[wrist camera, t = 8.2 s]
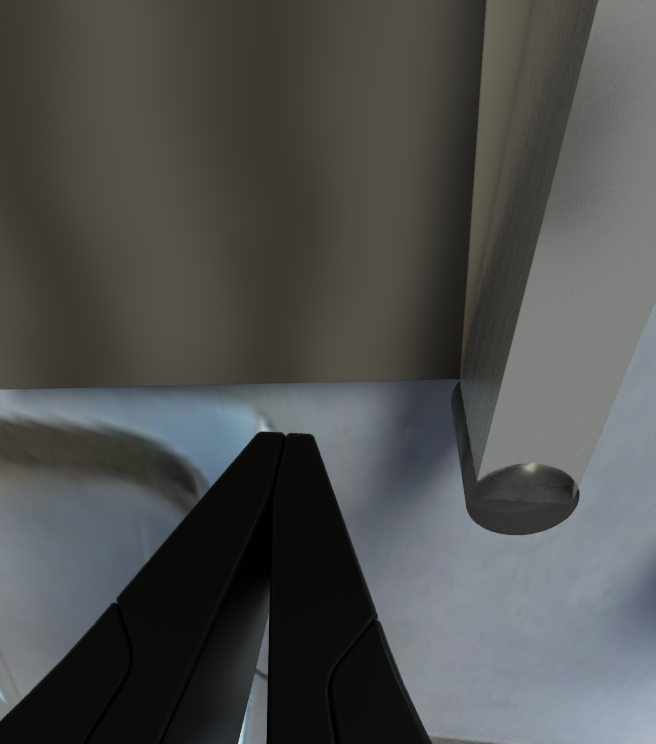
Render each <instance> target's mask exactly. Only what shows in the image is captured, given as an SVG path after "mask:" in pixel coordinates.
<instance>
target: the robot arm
mask: <svg viewBox="0 0 656 744" xmlns="http://www.w3.org/2000/svg"><path fill="white" fill-rule="evenodd" d="M116 601H117V603H112V604H111V605H110V606H109V607H108V608H107V609H106V611H105V612H104V613H103V614H102V615H101V616H100V618H99V619H98V620H97V621H96V622H95V624H94V625H93V626H92V627H91V628H90V629H89V630H88V631H87V633H86V634H85V635H84V636H83V637H82V638H81V639H80V640H79V641H78V643H77V644H76V645H75V646H74V647H73V648H72V649H71V650H70V651H69V653H68V654H67V655H66V656H65V657H64V658H63V659H62V660H61V661H60V662H59V663H58V664H57V665H56V666H55V667H54V668H53V669H52V670H51V671H50V672H49V673H48V674H47V675H46V676H45V677H44V678H43V679H42V680H41V681H40V682H39V683H38V684H37V685H36V686H35V687H34V688H33V689H32V690H31V691H30V692H29V693H28V694H27V695H26V696H25V697H24V698H23V699H22V700H21V701H20V702H19V703H18V704H17V705H16V706H15V707H14V708H13V709H12V710H11V711H10V712H9V713H8V714H7V715H6V716H5V717H4V718H3V719H2V720H1V721H0V744H238V741H239V737H240V733H241V729H242V724H243V720H244V716H245V712H246V707H247V703H248V699H249V695H250V690H251V686H252V682H253V677H254V673H255V669H256V665H257V660H258V656H259V652H260V648H261V643H262V639H263V635H264V630H265V626H266V622H267V618H268V613H269V654H268V699H267V744H432V742H431V740H430V738H429V736H428V734H427V732H426V730H425V728H424V726H423V724H422V722H421V720H420V718H419V715H418V713H417V711H416V709H415V707H414V705H413V703H412V700H411V698H410V696H409V694H408V692H407V690H406V688H405V685H404V683H403V680H402V678H401V675H400V673H399V670H398V668H397V665H396V663H395V660H394V658H393V655H392V653H391V650H390V647H389V645H388V642H387V639H386V636H385V634H384V631H383V628H382V625H381V623H380V621H378V615H377V612H376V609H375V606H374V604H373V601H372V598H371V595H370V592H369V590H368V587H367V584H366V581H365V578H364V576H363V573H362V570H361V567H360V564H359V562H358V559H357V556H356V553H355V550H354V548H353V545H352V542H351V539H350V536H349V533H348V531H347V528H346V525H345V522H344V519H343V517H342V514H341V511H340V508H339V505H338V503H337V500H336V497H335V494H334V491H333V489H332V486H331V483H330V480H329V477H328V475H327V472H326V469H325V466H324V463H323V460H322V458H321V455H320V452H319V449H318V446H317V444H316V441H315V438H314V437H313V435H311V434H301V433H289V434H287V436H285V434H283V433H281V432H259V433H257V434H256V435H255V437H254V438H253V439H252V440H251V441H250V442H249V444H248V445H247V446H246V447H245V448H244V449H243V451H242V452H241V453H240V454H239V455H238V456H237V458H236V459H235V460H234V461H233V462H232V463H231V465H230V466H229V467H228V468H227V469H226V471H225V472H224V473H223V474H222V475H221V476H220V478H219V479H218V480H217V481H216V482H215V483H214V485H213V486H212V487H211V488H210V489H209V490H208V492H207V493H206V494H205V495H204V496H203V497H202V499H201V500H200V501H199V502H198V503H197V504H196V506H195V507H194V508H193V509H192V510H191V511H190V513H189V514H188V515H187V516H186V517H185V518H184V520H183V521H182V522H181V523H180V524H179V526H178V527H177V528H176V529H175V530H174V531H173V533H172V534H171V535H170V536H169V537H168V538H167V540H166V541H165V542H164V543H163V544H162V545H161V547H160V548H159V549H158V550H157V551H156V552H155V554H154V555H153V556H152V557H151V558H150V559H149V561H148V562H147V563H146V564H145V565H144V566H143V568H142V569H141V570H140V571H139V572H138V574H137V575H136V576H135V577H134V578H133V579H132V581H131V582H130V583H129V584H128V585H127V586H126V588H125V589H124V590H123V591H122V592H121V593H120V595H119V596H118V597H117V599H116Z"/></svg>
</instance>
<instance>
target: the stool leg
mask: <svg viewBox="0 0 656 744" xmlns="http://www.w3.org/2000/svg"><path fill="white" fill-rule="evenodd" d="M655 300H656V0H534V3H533V8H532V13H531V18H530V23H529V29H528V34H527V39H526V44H525V49H524V54H523V59H522V64H521V69H520V75H519V80H518V85H517V90H516V95H515V100H514V105H513V110H512V115H511V121H510V126H509V131H508V136H507V141H506V146H505V151H504V156H503V161H502V167H501V172H500V177H499V182H498V187H497V192H496V197H495V202H494V208H493V213H492V218H491V223H490V228H489V233H488V238H487V243H486V248H485V254H484V259H483V264H482V269H481V274H480V279H479V284H478V289H477V294H476V300H475V305H474V310H473V315H472V320H471V325H470V330H469V335H468V341H467V346H466V351H465V356H464V361H463V366H462V371H461V376H460V381H459V383H458V384H457V385H456V387H455V389H454V391H453V393H452V397H451V406H452V413H453V420H454V426H455V433H456V440H457V447H458V453H459V460H460V467H461V474H462V480H463V487H464V494H465V501H466V507H467V511H468V513H469V515H470V517H471V518H472V519H473V520H474V521H475V522H476V523H477V524H478V525H480V526H481V527H483V528H485V529H487V530H490V531H492V532H496V533H500V534H506V535H526V534H533V533H537V532H541V531H544V530H547V529H550V528H552V527H554V526H556V525H558V524H560V523H561V522H563V521H564V520H565V519H567V518H568V517H569V516H570V515H571V514H572V512H573V511H574V510H575V508H576V506H577V504H578V501H579V489H578V487H579V485H580V482H581V480H582V477H583V475H584V473H585V470H586V468H587V465H588V463H589V460H590V458H591V456H592V453H593V451H594V448H595V446H596V443H597V441H598V439H599V436H600V434H601V431H602V429H603V426H604V424H605V422H606V419H607V417H608V414H609V412H610V409H611V407H612V405H613V402H614V400H615V397H616V395H617V392H618V390H619V388H620V385H621V383H622V380H623V378H624V375H625V373H626V371H627V368H628V366H629V363H630V361H631V358H632V356H633V354H634V351H635V349H636V346H637V344H638V341H639V339H640V337H641V334H642V332H643V329H644V327H645V324H646V322H647V320H648V317H649V315H650V312H651V310H652V307H653V305H654V303H655Z"/></svg>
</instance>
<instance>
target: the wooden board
mask: <svg viewBox="0 0 656 744" xmlns="http://www.w3.org/2000/svg"><path fill="white" fill-rule="evenodd" d="M533 3H534V0H0V389H43V388H87V387H131V386H175V385H218V384H262V383H306V382H350V381H393V380H437V379H460V376H461V371H462V366H463V361H464V356H465V351H466V346H467V341H468V335H469V330H470V325H471V320H472V315H473V310H474V305H475V300H476V294H477V289H478V284H479V279H480V274H481V269H482V264H483V259H484V254H485V248H486V243H487V238H488V233H489V228H490V223H491V218H492V213H493V208H494V202H495V197H496V192H497V187H498V182H499V177H500V172H501V167H502V161H503V156H504V151H505V146H506V141H507V136H508V131H509V126H510V121H511V115H512V110H513V105H514V100H515V95H516V90H517V85H518V80H519V75H520V69H521V64H522V59H523V54H524V49H525V44H526V39H527V34H528V29H529V23H530V18H531V13H532V8H533Z"/></svg>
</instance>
